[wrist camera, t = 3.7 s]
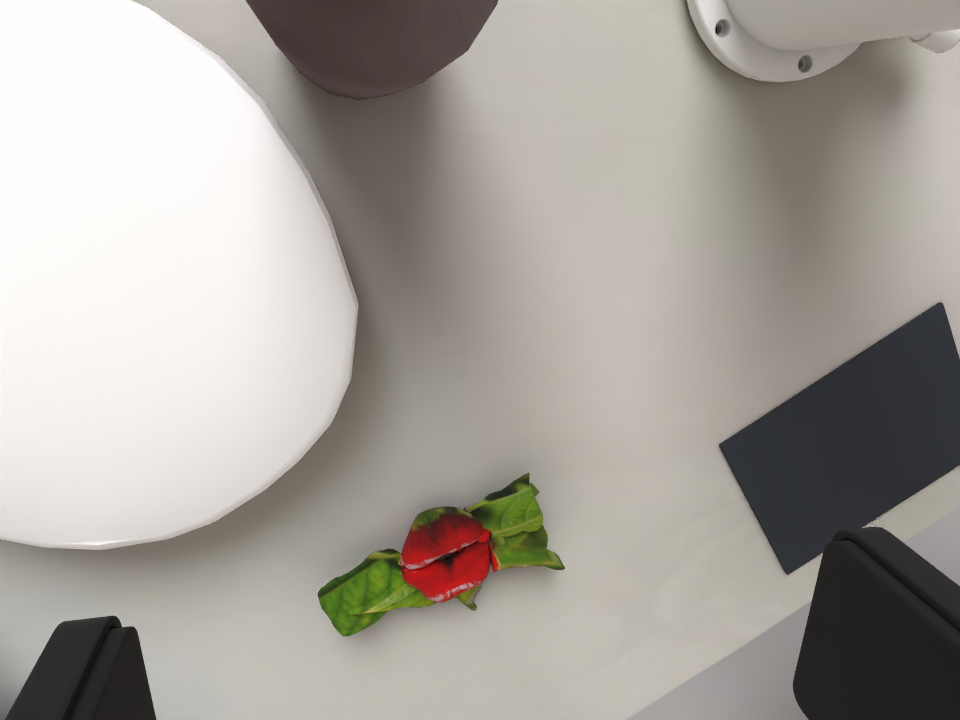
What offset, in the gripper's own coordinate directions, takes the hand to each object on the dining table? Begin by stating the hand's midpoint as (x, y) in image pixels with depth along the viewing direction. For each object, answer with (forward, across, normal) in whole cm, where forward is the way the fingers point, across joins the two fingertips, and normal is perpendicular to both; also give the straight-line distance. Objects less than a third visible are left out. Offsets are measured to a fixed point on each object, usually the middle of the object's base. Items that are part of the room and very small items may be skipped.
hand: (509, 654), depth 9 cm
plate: (+30, +15, +1) cm, 34 cm away
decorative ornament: (+30, -3, +21) cm, 37 cm away
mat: (+30, -34, +16) cm, 48 cm away
